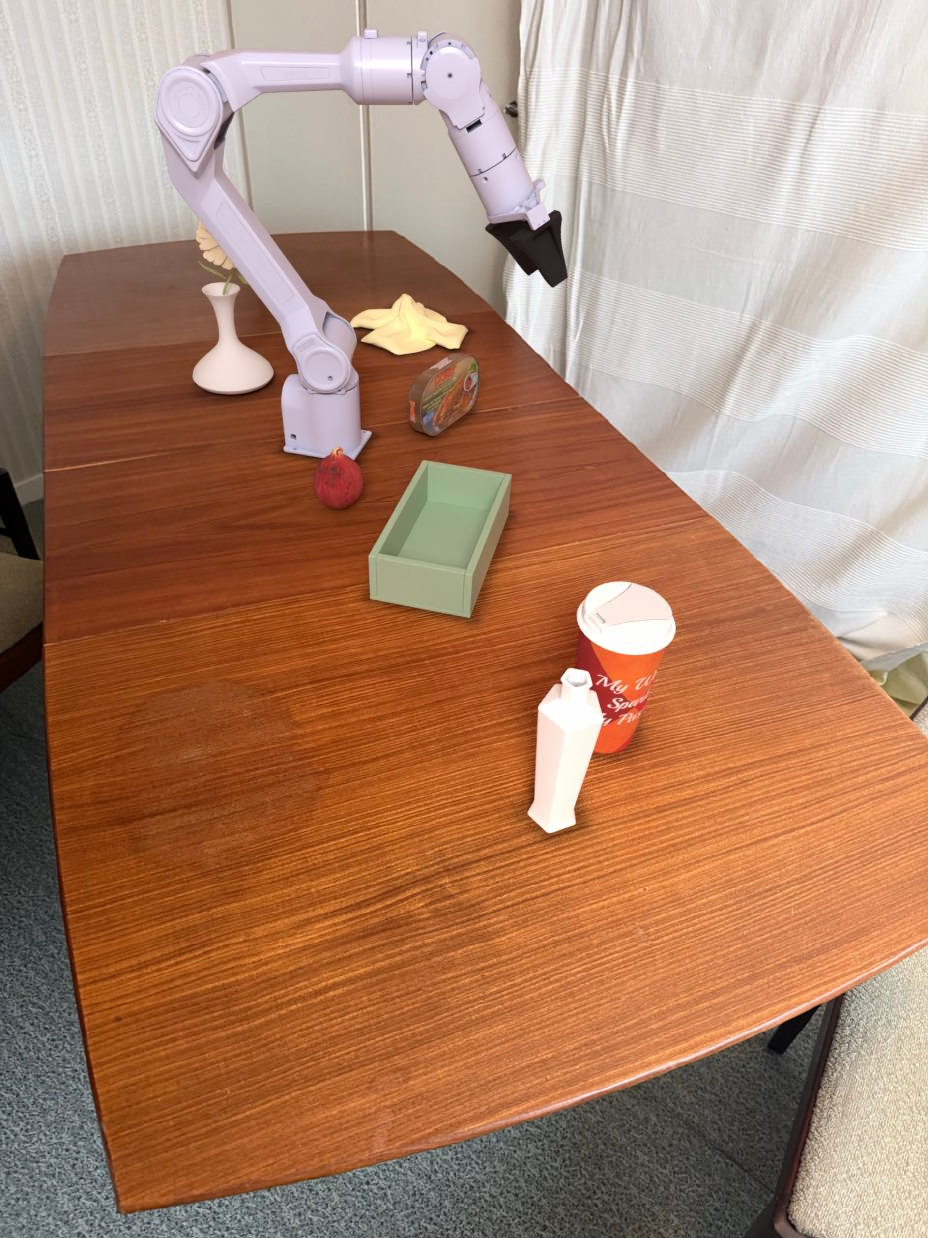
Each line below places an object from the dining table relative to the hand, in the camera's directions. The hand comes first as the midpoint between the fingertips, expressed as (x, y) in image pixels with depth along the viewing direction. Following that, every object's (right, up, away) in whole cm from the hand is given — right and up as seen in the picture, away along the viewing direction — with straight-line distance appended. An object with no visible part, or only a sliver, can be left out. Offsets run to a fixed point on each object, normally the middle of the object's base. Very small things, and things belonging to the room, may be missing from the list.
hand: (546, 276), depth 95 cm
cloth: (-19, +9, +44) cm, 49 cm away
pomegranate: (-24, -27, +2) cm, 36 cm away
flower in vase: (-42, -6, +25) cm, 50 cm away
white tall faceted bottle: (-3, -55, -29) cm, 62 cm away
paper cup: (+3, -49, -22) cm, 54 cm away
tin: (-12, -12, +20) cm, 26 cm away
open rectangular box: (-12, -32, -4) cm, 35 cm away
